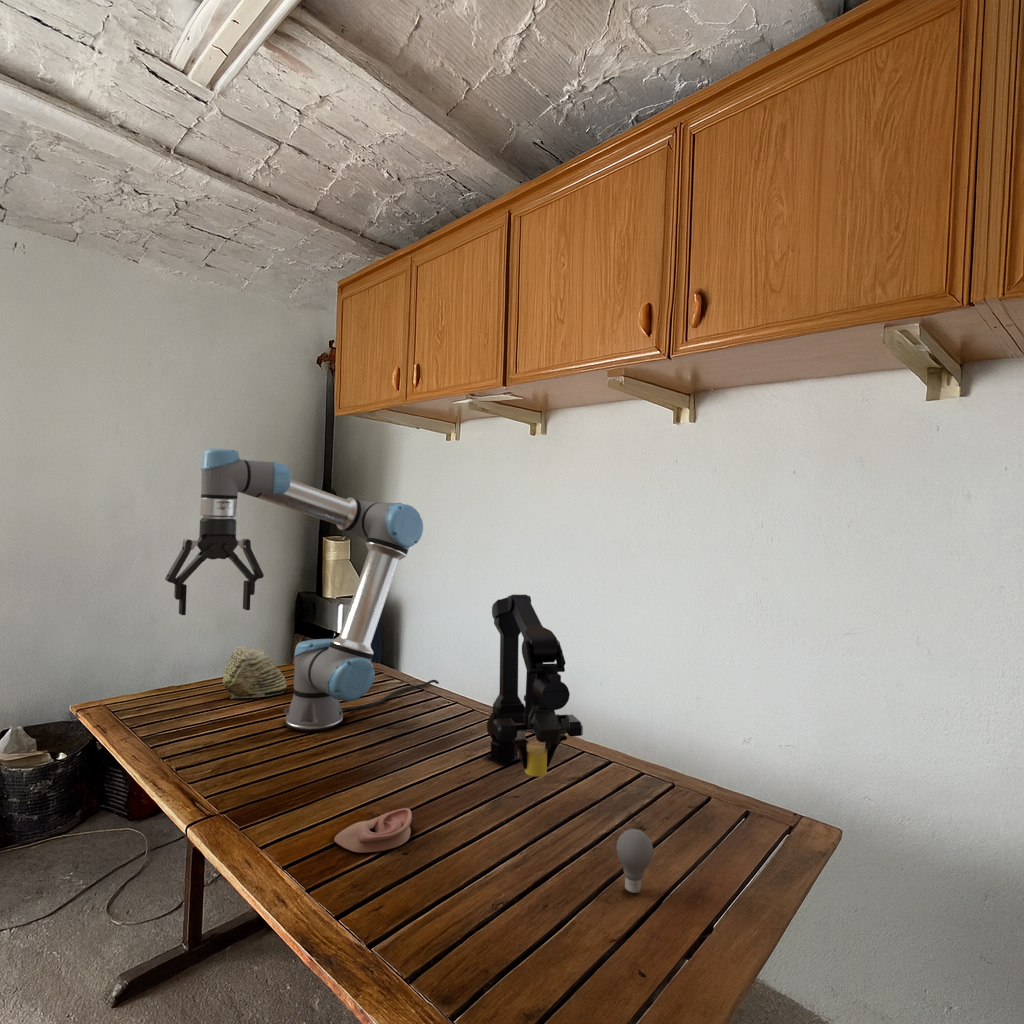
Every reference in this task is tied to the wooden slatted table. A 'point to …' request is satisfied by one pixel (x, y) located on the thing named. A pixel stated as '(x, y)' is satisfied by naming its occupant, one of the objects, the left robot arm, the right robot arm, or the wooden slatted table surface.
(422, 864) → the wooden slatted table surface
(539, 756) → the canister
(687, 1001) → the wooden slatted table surface
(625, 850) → the light bulb
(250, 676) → the fossil
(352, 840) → the anatomical model
